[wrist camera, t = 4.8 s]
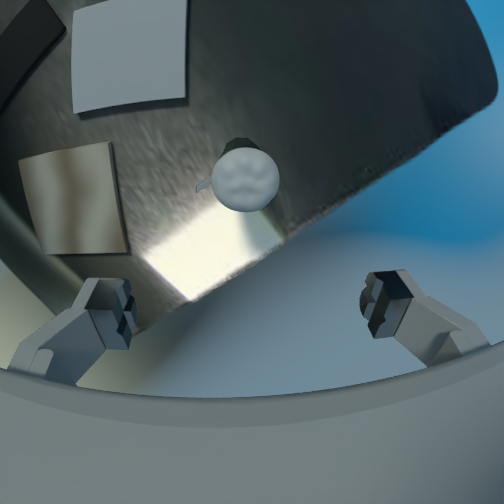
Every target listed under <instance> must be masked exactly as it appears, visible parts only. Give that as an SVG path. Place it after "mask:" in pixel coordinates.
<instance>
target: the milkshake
mask: <svg viewBox="0 0 504 504" xmlns="http://www.w3.org/2000/svg"><path fill="white" fill-rule="evenodd" d="M210 184H212V189H213V192H214V195H215V196H216V198H217V199H218V200H219V201H220V202H221V203H222V204H223V205H224V206H226V207H227V208H229V209H231V210H234V211H240V212H254V211H257V210H260V209H262V208H264V207H265V206H266V205H267V204H268V203H269V202H270V201H271V200H272V199H273V198H274V196H275V195H276V193H277V190H278V187H279V172H278V169H277V166H276V164H275V163H274V161H273V160H272V158H271V157H270V156H269V155H267V154H266V153H265V152H263V151H262V150H261V149H260V148H259V147H258V146H257V145H256V144H255V143H253V142H252V141H251V140H250V139H249V138H241V137H236V138H234V139H233V140H231V141H230V142H228V143H227V144H226V146H225V149H224V151H223V153H222V155H221V156H220V158H219V160H218V161H217V163H216V164H215V166H214V168H213V171H212V176H211V177H210V178H208V179H207V180H205V181H203V182H202V183H200V184H198V185H197V186H196V193H197V192H199V191H200V190H202V189H203V188H205V187H206V186H208V185H210Z"/></svg>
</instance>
